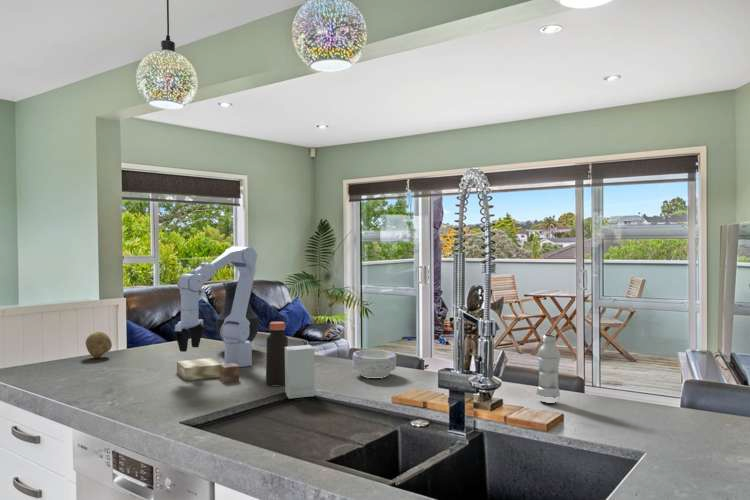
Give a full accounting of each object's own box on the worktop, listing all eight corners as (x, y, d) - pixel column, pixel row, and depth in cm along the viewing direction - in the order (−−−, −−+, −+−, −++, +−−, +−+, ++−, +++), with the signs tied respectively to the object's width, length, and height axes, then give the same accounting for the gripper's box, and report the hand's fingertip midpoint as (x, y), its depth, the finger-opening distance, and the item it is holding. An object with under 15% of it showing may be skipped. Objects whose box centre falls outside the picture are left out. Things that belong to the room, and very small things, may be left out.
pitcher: (208, 353, 232) (209, 279, 232) (229, 343, 253) (230, 276, 252) (249, 355, 230) (250, 280, 229) (267, 345, 250) (268, 277, 249)
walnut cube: (234, 377, 193) (234, 363, 193) (238, 381, 189) (239, 366, 189) (219, 379, 190) (219, 364, 190) (223, 382, 186) (224, 367, 186)
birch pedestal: (211, 369, 204) (211, 357, 204) (221, 376, 194) (221, 364, 194) (176, 372, 198) (177, 361, 198) (184, 380, 188) (184, 368, 188)
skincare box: (310, 391, 177) (311, 344, 176) (315, 397, 171) (316, 347, 171) (283, 394, 174) (284, 345, 173) (287, 399, 168) (288, 349, 168)
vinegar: (261, 383, 185) (262, 322, 185) (278, 380, 190) (279, 320, 190) (274, 387, 181) (275, 324, 180) (291, 384, 186) (292, 322, 185)
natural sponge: (104, 354, 226) (104, 329, 226) (116, 357, 221) (116, 331, 221) (81, 358, 219) (81, 332, 219) (93, 361, 214) (93, 334, 213)
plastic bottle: (548, 407, 165) (549, 338, 164) (531, 401, 171) (533, 334, 170) (564, 404, 168) (566, 336, 167) (547, 398, 174) (549, 333, 173)
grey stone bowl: (402, 379, 194) (403, 356, 194) (360, 382, 189) (360, 359, 189) (386, 369, 208) (386, 348, 208) (346, 372, 203) (347, 350, 203)
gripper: (190, 306, 201) (190, 344, 201) (166, 311, 186) (166, 352, 187) (208, 307, 199) (208, 345, 199) (186, 312, 185) (185, 354, 185)
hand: (189, 349), depth 193 cm, fingers open, 7 cm apart
